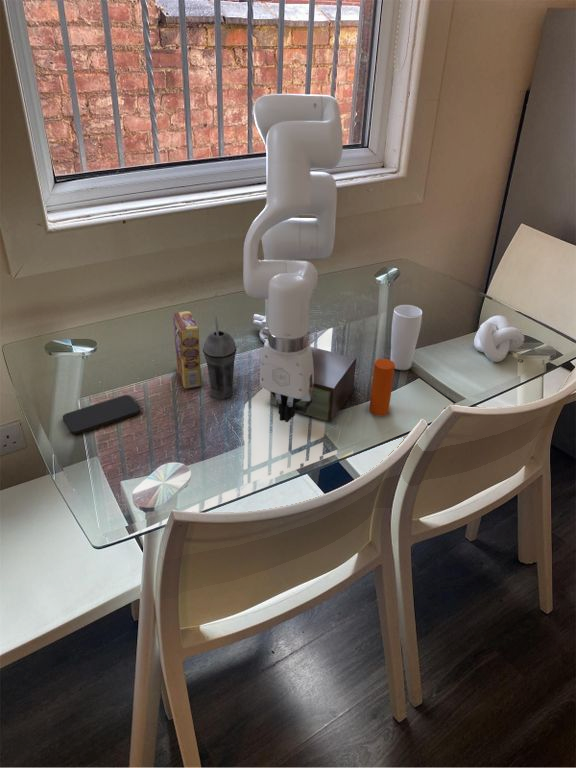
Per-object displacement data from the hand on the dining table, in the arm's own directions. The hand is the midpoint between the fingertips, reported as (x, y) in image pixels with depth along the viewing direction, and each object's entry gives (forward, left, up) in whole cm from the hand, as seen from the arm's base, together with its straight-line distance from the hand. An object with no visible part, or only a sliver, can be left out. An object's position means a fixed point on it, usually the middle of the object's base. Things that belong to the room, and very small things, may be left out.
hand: (286, 417), depth 124 cm
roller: (+15, +16, -3) cm, 22 cm away
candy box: (-29, +8, -4) cm, 30 cm away
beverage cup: (-19, +6, -4) cm, 20 cm away
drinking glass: (+14, +36, -4) cm, 39 cm away
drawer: (0, +10, -2) cm, 10 cm away
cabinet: (0, +14, -3) cm, 14 cm away
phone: (-37, -13, -3) cm, 40 cm away
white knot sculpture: (+33, +53, -4) cm, 62 cm away
